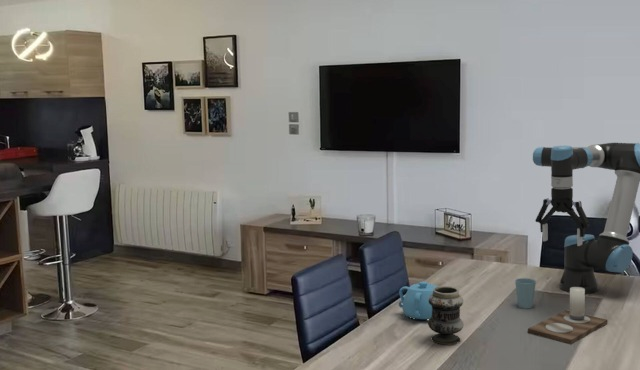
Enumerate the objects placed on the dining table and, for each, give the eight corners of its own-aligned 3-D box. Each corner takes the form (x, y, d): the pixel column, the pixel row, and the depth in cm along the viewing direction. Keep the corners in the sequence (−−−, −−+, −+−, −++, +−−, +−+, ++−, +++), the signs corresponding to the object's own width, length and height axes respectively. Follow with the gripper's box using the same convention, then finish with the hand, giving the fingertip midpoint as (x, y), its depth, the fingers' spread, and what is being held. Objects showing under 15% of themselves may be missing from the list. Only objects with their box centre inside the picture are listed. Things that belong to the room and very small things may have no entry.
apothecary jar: (456, 348, 220) (455, 296, 218) (422, 342, 226) (422, 291, 224) (468, 336, 230) (468, 286, 228) (436, 331, 236) (435, 282, 234)
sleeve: (573, 315, 242) (574, 286, 241) (586, 318, 239) (587, 288, 237) (566, 318, 239) (567, 289, 238) (580, 321, 235) (580, 291, 234)
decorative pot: (435, 308, 262) (434, 274, 261) (452, 320, 247) (451, 285, 245) (396, 312, 259) (395, 278, 257) (411, 325, 243) (410, 289, 242)
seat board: (565, 314, 250) (565, 309, 250) (607, 323, 238) (607, 318, 238) (527, 332, 232) (527, 327, 232) (571, 344, 220) (571, 338, 220)
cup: (539, 307, 259) (539, 281, 257) (524, 310, 256) (524, 284, 254) (526, 302, 266) (526, 277, 264) (511, 305, 262) (511, 280, 261)
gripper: (526, 186, 252) (526, 240, 255) (590, 191, 234) (590, 249, 238) (535, 183, 257) (536, 236, 260) (599, 188, 240) (599, 245, 243)
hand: (562, 243), depth 249 cm, fingers open, 13 cm apart
